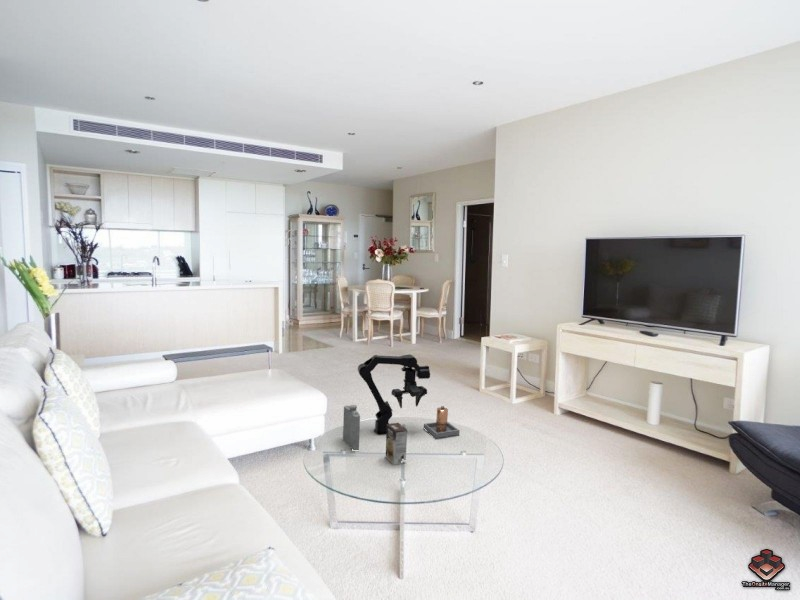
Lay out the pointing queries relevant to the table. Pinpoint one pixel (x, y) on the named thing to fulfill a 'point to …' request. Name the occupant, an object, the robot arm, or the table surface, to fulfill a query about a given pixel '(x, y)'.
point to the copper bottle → (441, 419)
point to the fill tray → (450, 432)
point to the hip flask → (351, 426)
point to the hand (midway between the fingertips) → (408, 407)
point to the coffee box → (396, 443)
